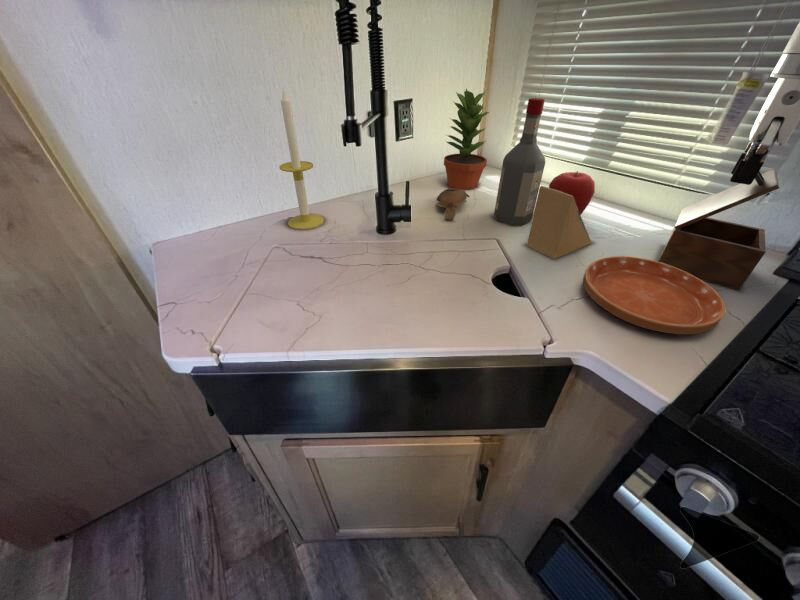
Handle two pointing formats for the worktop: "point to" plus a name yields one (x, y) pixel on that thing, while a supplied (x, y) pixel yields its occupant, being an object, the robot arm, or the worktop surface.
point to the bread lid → (728, 198)
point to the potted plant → (466, 145)
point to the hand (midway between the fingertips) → (740, 178)
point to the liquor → (521, 172)
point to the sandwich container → (556, 224)
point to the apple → (575, 187)
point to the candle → (297, 173)
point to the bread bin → (715, 251)
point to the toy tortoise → (451, 201)
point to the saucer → (653, 295)
